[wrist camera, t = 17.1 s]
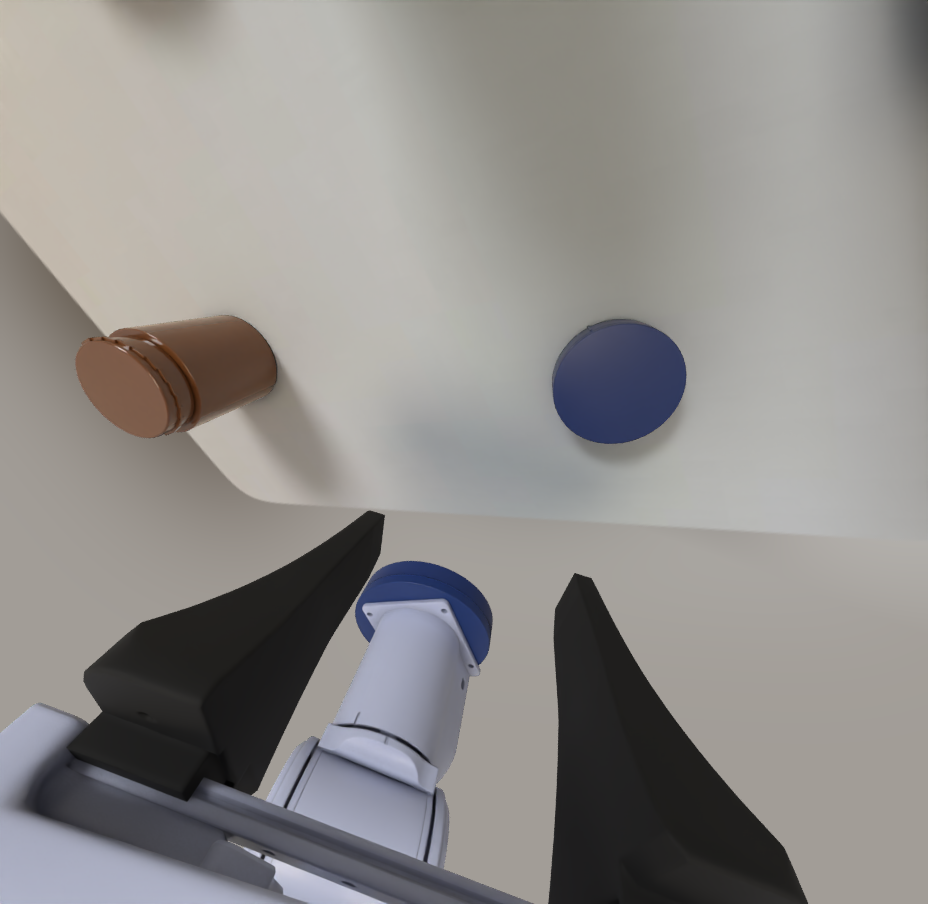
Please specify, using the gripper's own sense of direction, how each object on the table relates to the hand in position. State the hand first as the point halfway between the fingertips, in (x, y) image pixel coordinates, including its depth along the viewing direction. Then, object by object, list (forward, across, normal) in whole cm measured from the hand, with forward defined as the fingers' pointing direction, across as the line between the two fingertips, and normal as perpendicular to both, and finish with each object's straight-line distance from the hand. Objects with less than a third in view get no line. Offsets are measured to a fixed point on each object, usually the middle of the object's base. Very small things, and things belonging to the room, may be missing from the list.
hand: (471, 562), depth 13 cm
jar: (+9, +17, -1) cm, 20 cm away
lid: (+8, -4, -6) cm, 11 cm away
